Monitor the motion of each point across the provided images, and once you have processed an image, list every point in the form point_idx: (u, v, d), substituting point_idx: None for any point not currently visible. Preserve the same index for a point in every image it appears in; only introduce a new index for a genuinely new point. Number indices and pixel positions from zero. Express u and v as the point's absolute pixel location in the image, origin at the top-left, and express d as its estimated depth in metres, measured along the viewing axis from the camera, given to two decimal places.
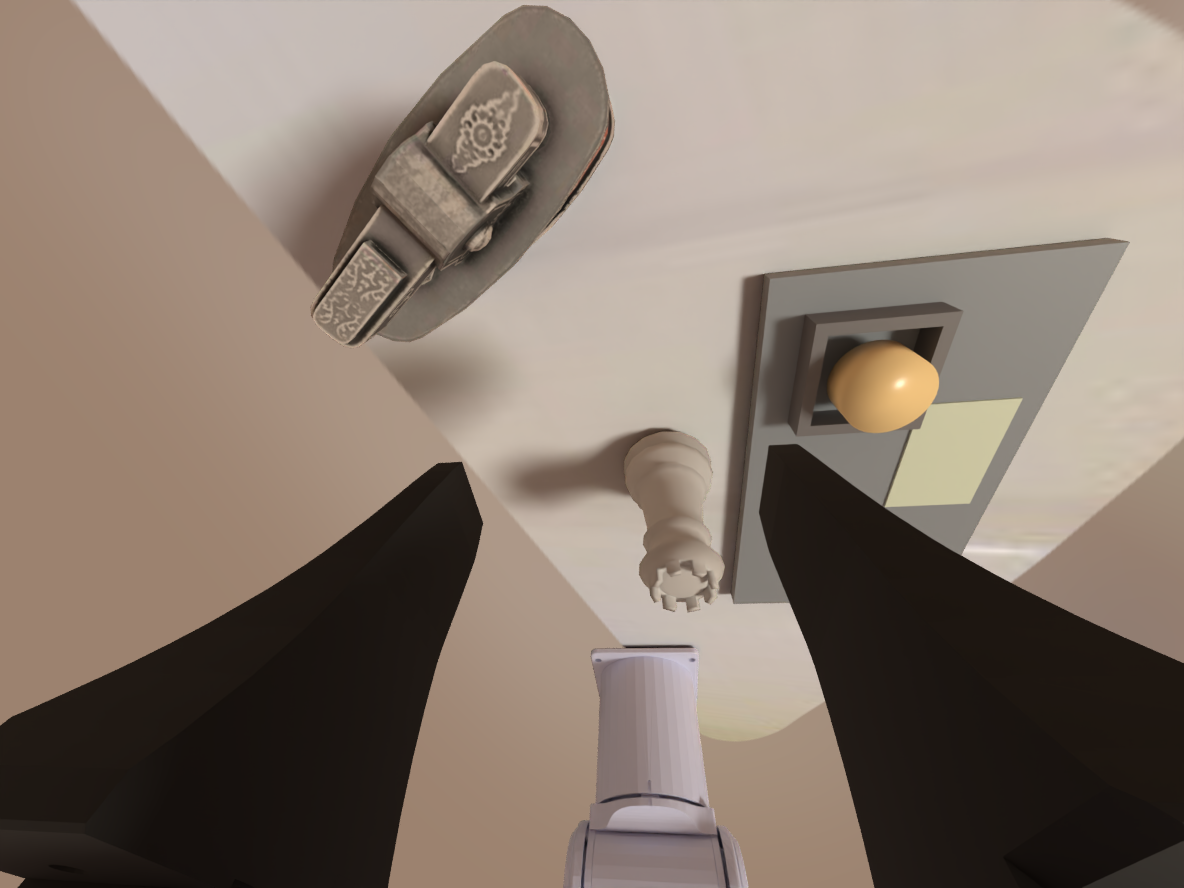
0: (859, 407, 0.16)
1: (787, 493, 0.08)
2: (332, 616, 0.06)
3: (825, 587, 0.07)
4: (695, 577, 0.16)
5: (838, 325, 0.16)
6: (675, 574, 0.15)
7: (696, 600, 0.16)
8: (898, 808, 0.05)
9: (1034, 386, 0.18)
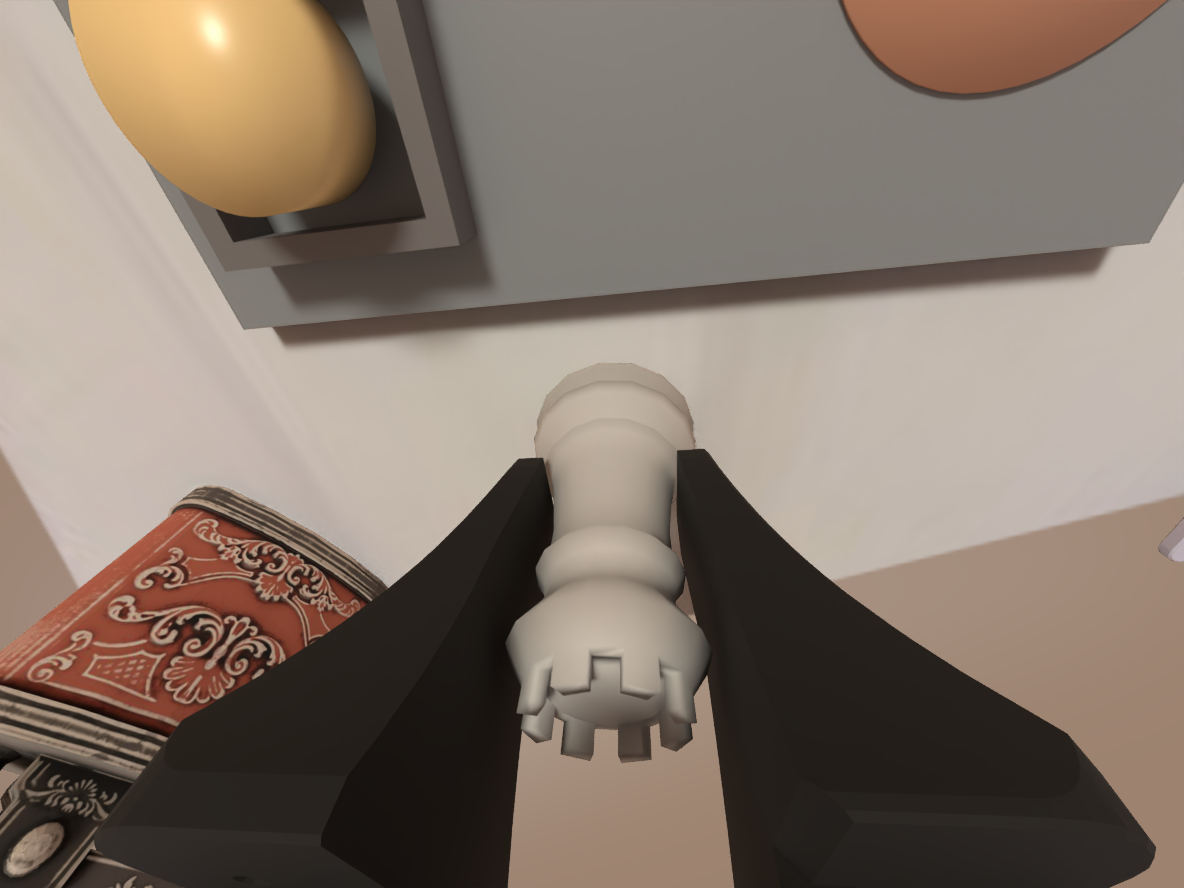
0: (265, 167, 0.06)
1: (685, 497, 0.09)
2: (467, 614, 0.06)
3: (705, 589, 0.07)
4: None
5: (206, 228, 0.08)
6: (540, 734, 0.06)
7: (668, 691, 0.06)
8: (738, 802, 0.06)
9: None
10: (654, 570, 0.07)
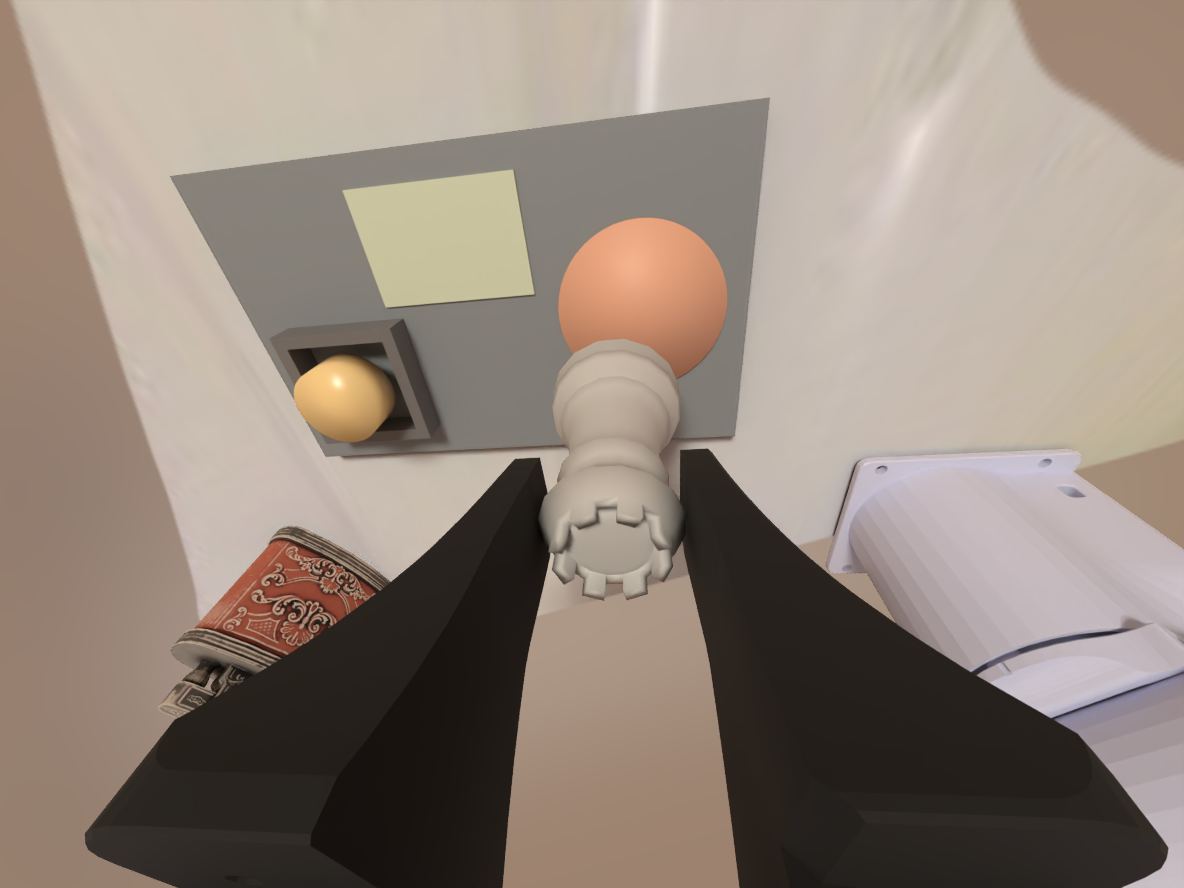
0: (355, 428, 0.17)
1: (689, 497, 0.09)
2: (462, 614, 0.06)
3: (710, 589, 0.07)
4: (587, 534, 0.09)
5: None
6: (566, 574, 0.09)
7: (651, 528, 0.08)
8: (744, 802, 0.06)
9: (326, 180, 0.14)
10: (642, 465, 0.10)
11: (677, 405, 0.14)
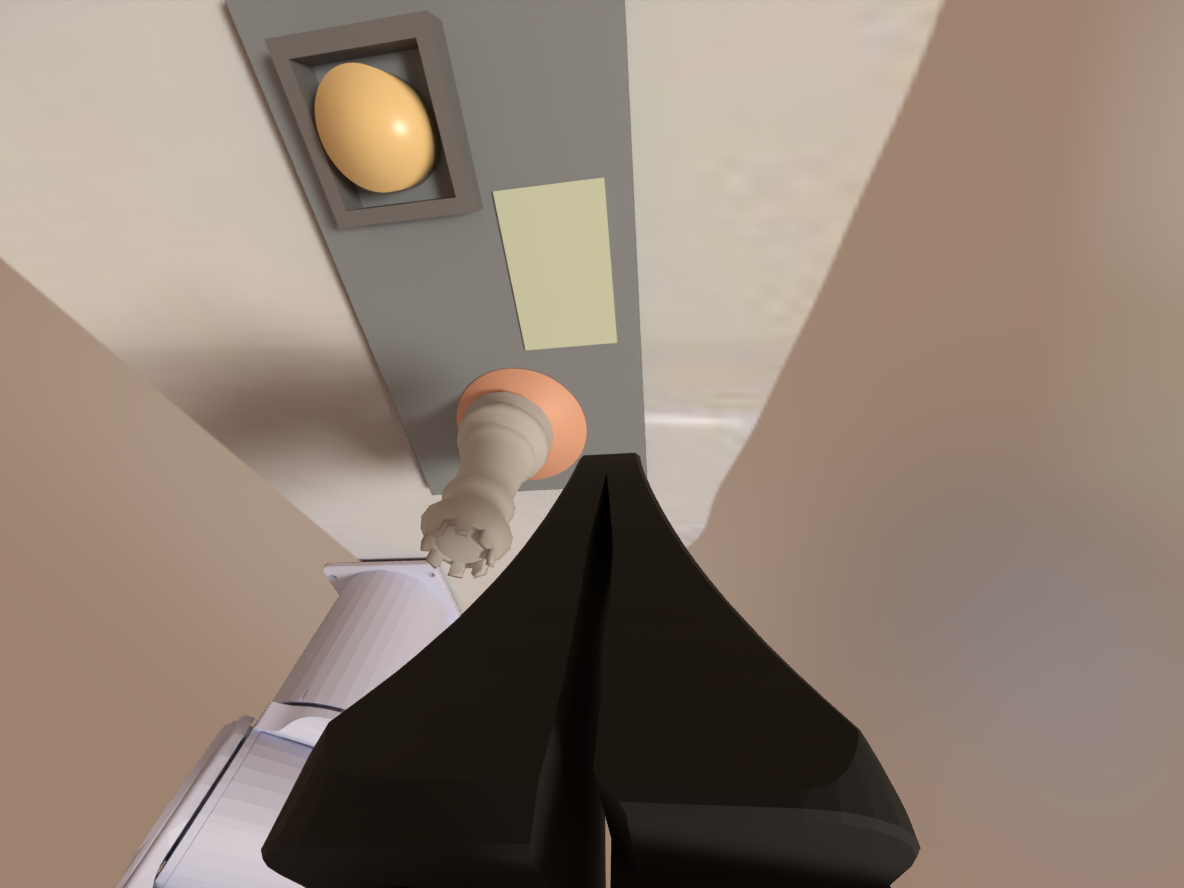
0: (344, 151, 0.13)
1: None
2: (580, 613, 0.06)
3: None
4: (468, 537, 0.14)
5: (290, 40, 0.12)
6: (437, 534, 0.14)
7: (482, 565, 0.15)
8: None
9: (612, 159, 0.15)
10: None
11: None
